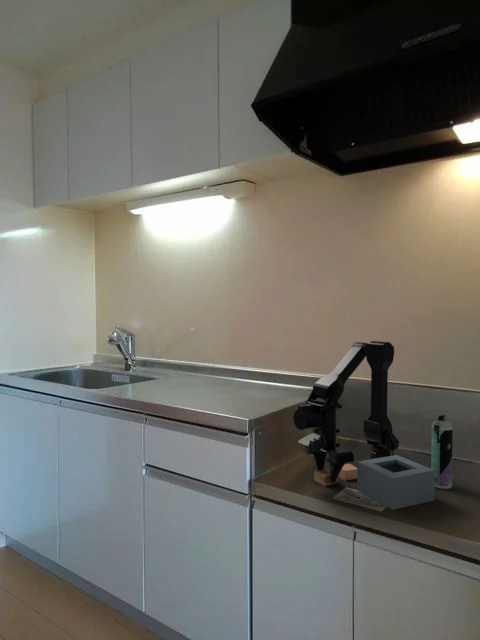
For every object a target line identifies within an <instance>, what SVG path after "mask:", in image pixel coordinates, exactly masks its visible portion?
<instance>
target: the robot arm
mask: <svg viewBox="0 0 480 640" xmlns="http://www.w3.org/2000/svg"><path fill="white" fill-rule="evenodd" d="M394 356H395V347H394V345H393V344H392V343H391V342H390V341H379V340H371V341H369V342H368V343H367V342H362V341H361V342H358V341H356V342H354V343H352V345H351V347H350V349H349V350H348V351H347V353H346V354H345V355H344V356H343V358H342V359H341V360H340V361H339V363H337V365H336V366H335V367H334V368H333V370H332V371H331V372H329V373H328V374H326V375H324V376H322V377H320V378H319V379H318V380H317V381H315V383H314V384H313V387H312V389H311V391H310V394H309V396H308V398H307V399H306V401H305V404H299V405H298V406H297V409H296V410H295V411H294V414H293V415H292V420H293V424H294V426H295V427H296V429H298V430H299V431H303V430H309V429H312V433H310V434H307V435H306V436H303V437H302V438H301V439H299V440H298V441H297V442H298V445H299V449H300V451H301V452H302V453H304V454H305V455H307V456H312V459H313V461H314V465H315V468H316V471H317V470H322V469H325V464H326V462H327V463H328V465H329V469H330V475H331V482H335V481H336V479H337V477H338V475H339V473H340V471H341V469H342V468H343V466H344V464H348V463H353V462H354V461H355V453H354V452H353V451H352V450H350V449H348V448H345V447H341V448H340V446H341V444H340V443H339V442H337V440H338V439H337V437H338V436H337V434H339V433H341V432H340V430H341V429H340V428H338V427H337V420H338V419H337V417H338V416H337V415H338V414H337V413H338V411H337V410H339V409H343V405H342V404H340V402H338V401H339V400H340V399H341V396H342V395H343V393H344V391H345V384H346V382H347V381H348V380H349V379H350V377H351V376H352V375H353V373H354V372H355V371H356V370H357V368H358V367H359V366H360V364H361V363H362V362H363V361H364V360H365V358H366V362H367V364H368V365H369V367H370V369H371V371H370V372H371V373H370V374H371V375H370V376H371V378H370V379H371V380H370V383H371V384H370V413H369V414H370V415H369V416H368V417H367V419H364V420H363V430H362V432H363V434H364V438H365V439H366V444H367V445H370V446H371V451H370V459H376V458H382V457H388V456H394V455H395V454H394V451H396V450H398V448H399V444H400V440H398V439H397V437H396V436H395V435H394V434H393V425H392V423H391V420H390V419H389V417H388V381H389V378H388V375H389V372H388V371H389V369H390V367H391V366H392V364H393V362H394V358H395V357H394ZM327 454H328V459H327Z"/></svg>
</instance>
